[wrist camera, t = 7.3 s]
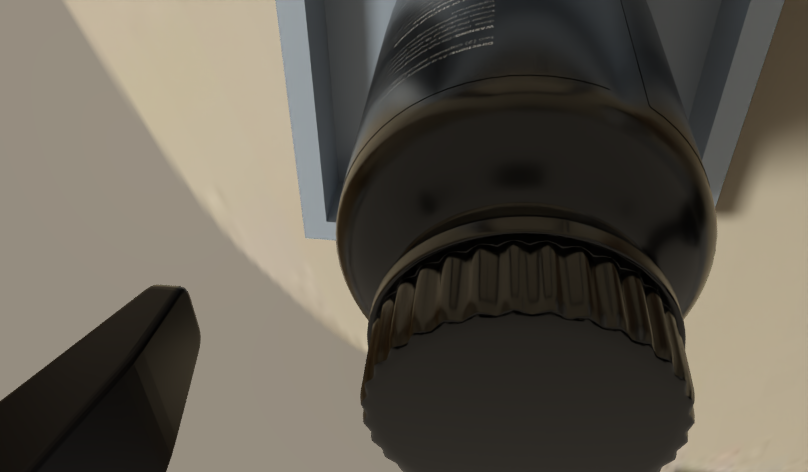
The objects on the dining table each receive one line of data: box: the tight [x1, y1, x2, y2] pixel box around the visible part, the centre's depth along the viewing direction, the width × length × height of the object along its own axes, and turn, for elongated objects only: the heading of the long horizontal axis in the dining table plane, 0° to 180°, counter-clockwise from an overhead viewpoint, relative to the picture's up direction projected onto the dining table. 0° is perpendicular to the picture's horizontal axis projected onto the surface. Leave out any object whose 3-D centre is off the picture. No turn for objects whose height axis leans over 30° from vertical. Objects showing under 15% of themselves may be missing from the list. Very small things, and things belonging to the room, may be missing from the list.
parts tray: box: [275, 0, 785, 240], centre depth 19 cm, size 11×11×3 cm
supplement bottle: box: [336, 0, 717, 472], centre depth 15 cm, size 7×7×12 cm
